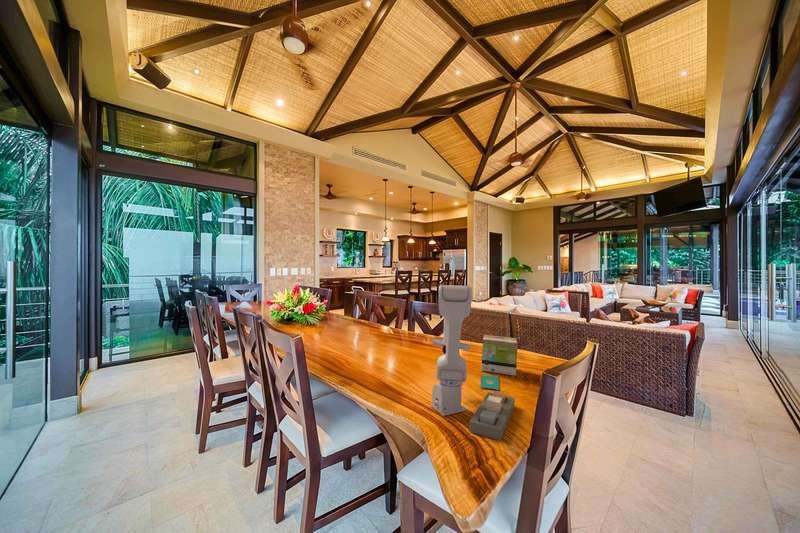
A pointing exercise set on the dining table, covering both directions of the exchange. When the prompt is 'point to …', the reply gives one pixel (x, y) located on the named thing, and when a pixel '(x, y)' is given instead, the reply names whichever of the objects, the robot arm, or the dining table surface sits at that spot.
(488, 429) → the key panel
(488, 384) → the smartphone
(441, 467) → the dining table surface
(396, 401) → the dining table surface
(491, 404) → the white key
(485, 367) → the tea box
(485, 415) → the slate key
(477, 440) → the dining table surface
